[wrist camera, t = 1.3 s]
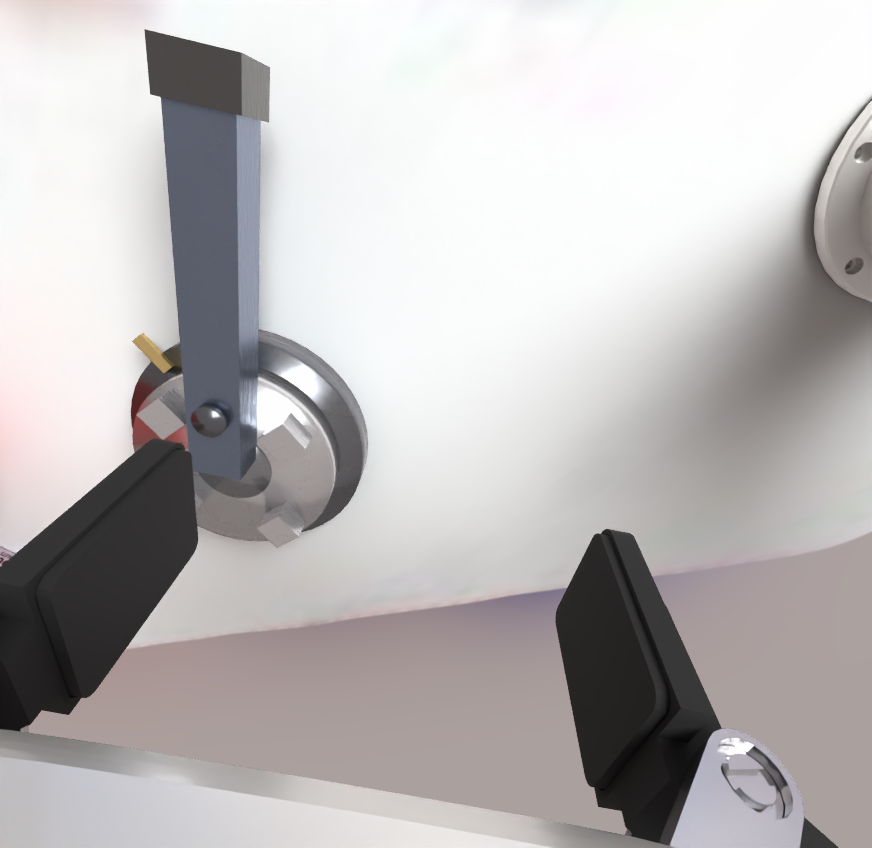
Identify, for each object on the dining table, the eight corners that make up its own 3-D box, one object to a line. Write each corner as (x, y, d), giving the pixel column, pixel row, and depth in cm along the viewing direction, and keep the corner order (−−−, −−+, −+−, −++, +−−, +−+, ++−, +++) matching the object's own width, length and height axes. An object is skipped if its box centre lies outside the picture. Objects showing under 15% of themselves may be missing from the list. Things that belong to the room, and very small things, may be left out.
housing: (382, 355, 30) (376, 369, 28) (354, 534, 38) (348, 555, 36) (136, 303, 29) (111, 312, 27) (160, 496, 37) (142, 515, 35)
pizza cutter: (384, 99, 21) (363, 80, 17) (331, 536, 35) (311, 588, 31) (103, 31, 21) (5, -6, 16) (161, 503, 34) (116, 551, 30)
